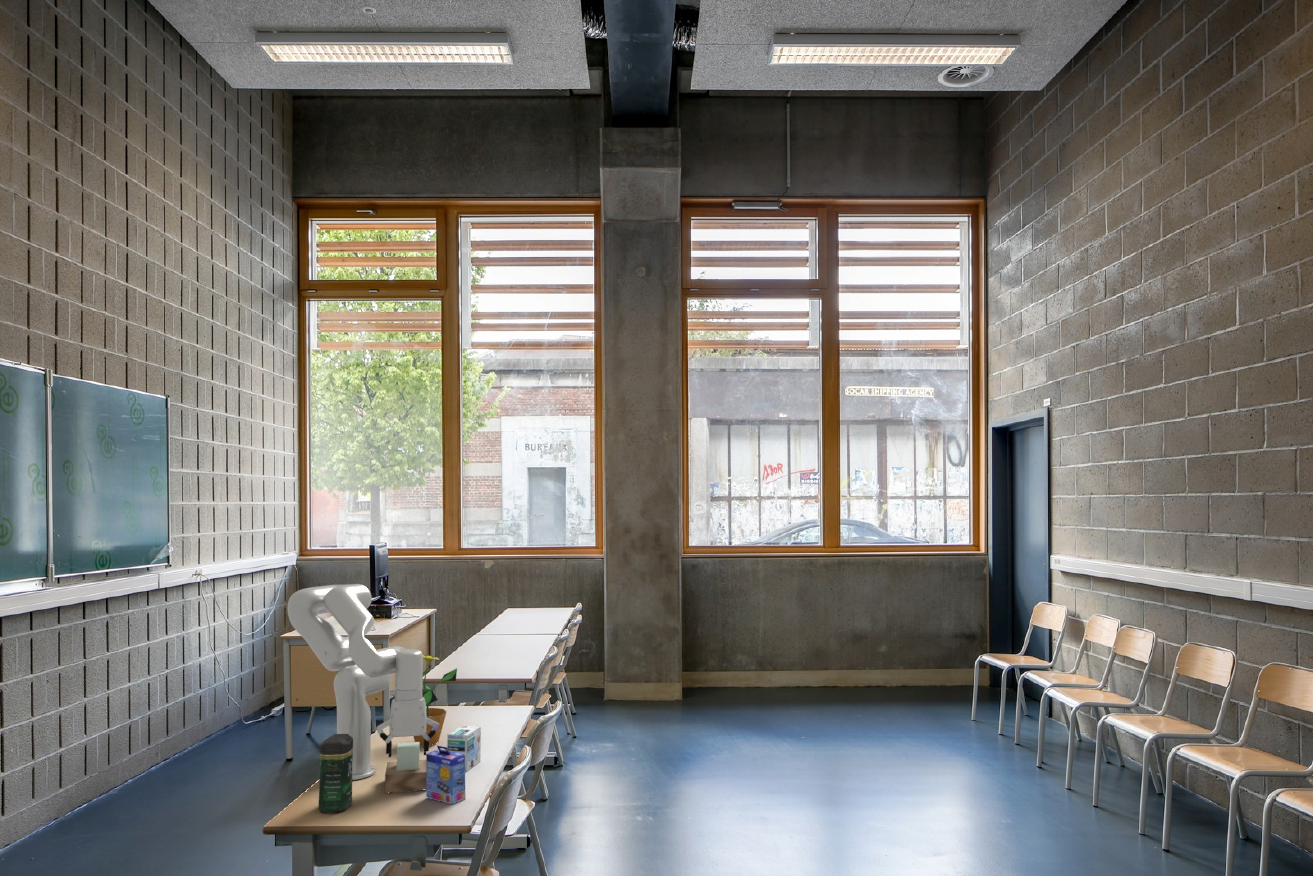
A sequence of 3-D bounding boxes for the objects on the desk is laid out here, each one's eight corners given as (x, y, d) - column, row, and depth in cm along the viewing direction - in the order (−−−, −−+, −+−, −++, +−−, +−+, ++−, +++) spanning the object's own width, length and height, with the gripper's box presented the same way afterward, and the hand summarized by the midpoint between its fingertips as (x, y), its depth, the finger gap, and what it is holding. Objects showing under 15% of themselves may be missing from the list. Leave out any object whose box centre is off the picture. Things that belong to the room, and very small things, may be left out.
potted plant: (448, 751, 289) (449, 656, 291) (390, 751, 290) (391, 656, 291) (462, 735, 307) (462, 646, 309) (407, 735, 308) (408, 646, 309)
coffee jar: (346, 813, 234) (347, 741, 235) (315, 814, 234) (316, 741, 235) (355, 800, 244) (356, 731, 245) (325, 801, 243) (326, 731, 244)
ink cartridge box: (424, 799, 245) (425, 744, 246) (439, 793, 250) (439, 739, 251) (451, 805, 240) (452, 750, 241) (466, 799, 245) (466, 744, 246)
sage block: (396, 771, 253) (396, 749, 254) (397, 764, 259) (398, 743, 259) (418, 769, 255) (419, 747, 255) (419, 763, 260) (419, 742, 261)
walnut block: (384, 793, 249) (385, 775, 250) (387, 780, 261) (387, 762, 261) (429, 790, 252) (429, 771, 252) (429, 776, 264) (430, 759, 264)
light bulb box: (467, 772, 268) (467, 735, 269) (446, 771, 269) (446, 734, 270) (481, 761, 278) (481, 726, 279) (460, 760, 280) (461, 724, 280)
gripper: (376, 699, 252) (374, 761, 251) (439, 695, 256) (438, 757, 256) (377, 692, 260) (376, 753, 259) (439, 689, 264) (438, 749, 263)
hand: (407, 755), depth 257 cm, fingers open, 9 cm apart
